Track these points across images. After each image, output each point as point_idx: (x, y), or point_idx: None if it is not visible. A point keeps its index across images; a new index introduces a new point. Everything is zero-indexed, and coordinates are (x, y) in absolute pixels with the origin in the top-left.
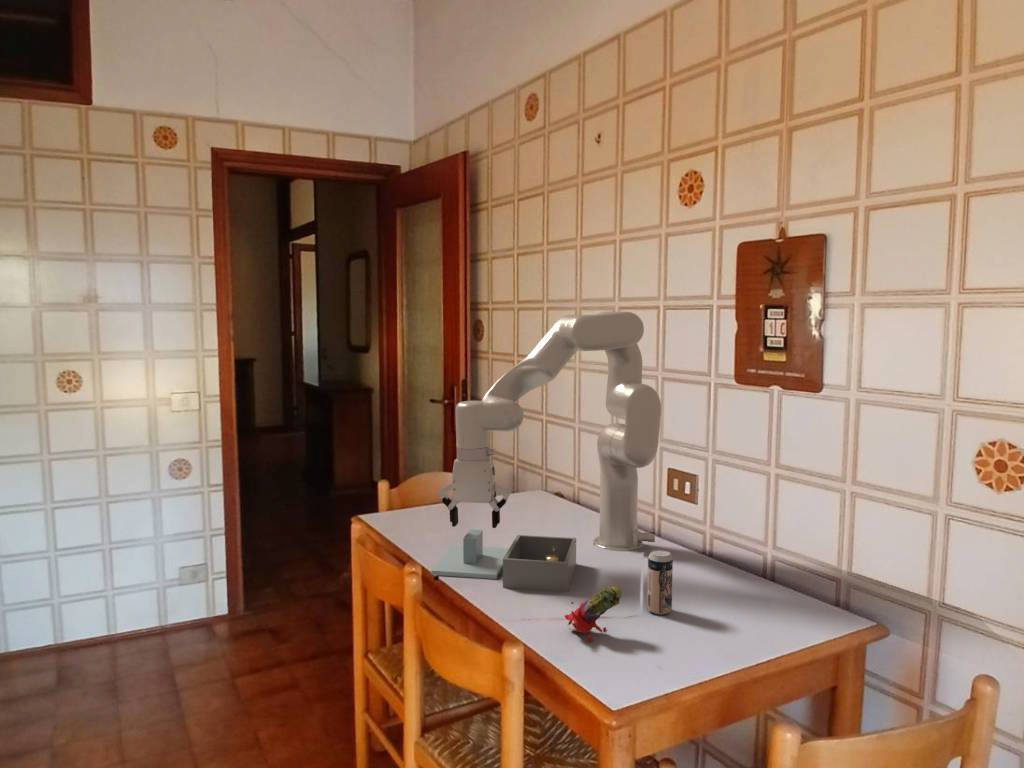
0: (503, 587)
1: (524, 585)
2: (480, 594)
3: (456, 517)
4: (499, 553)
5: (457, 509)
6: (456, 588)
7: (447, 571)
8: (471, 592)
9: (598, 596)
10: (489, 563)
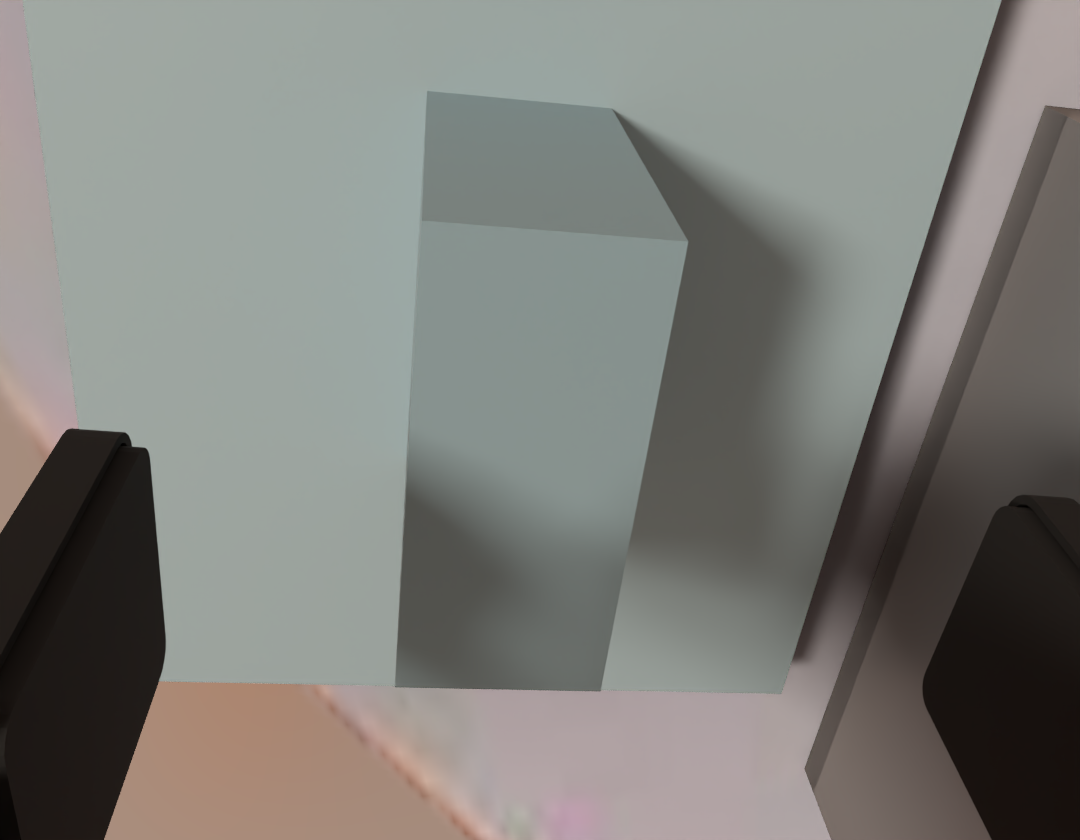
0: (818, 790)
1: None
2: (634, 831)
3: (109, 678)
4: (860, 29)
5: (25, 722)
6: (430, 769)
7: (291, 682)
8: (563, 813)
9: None
10: (713, 427)
